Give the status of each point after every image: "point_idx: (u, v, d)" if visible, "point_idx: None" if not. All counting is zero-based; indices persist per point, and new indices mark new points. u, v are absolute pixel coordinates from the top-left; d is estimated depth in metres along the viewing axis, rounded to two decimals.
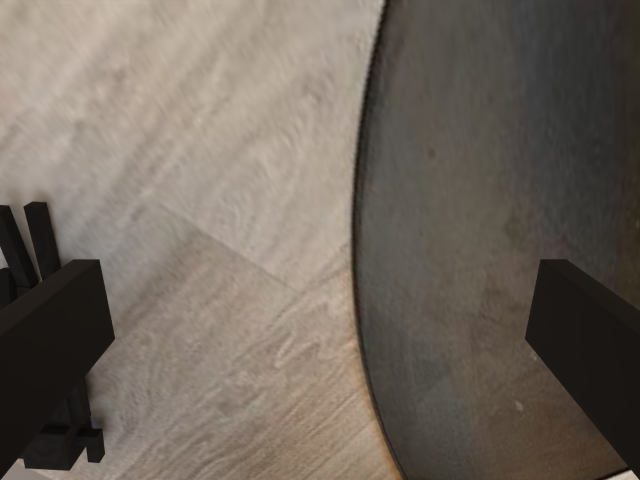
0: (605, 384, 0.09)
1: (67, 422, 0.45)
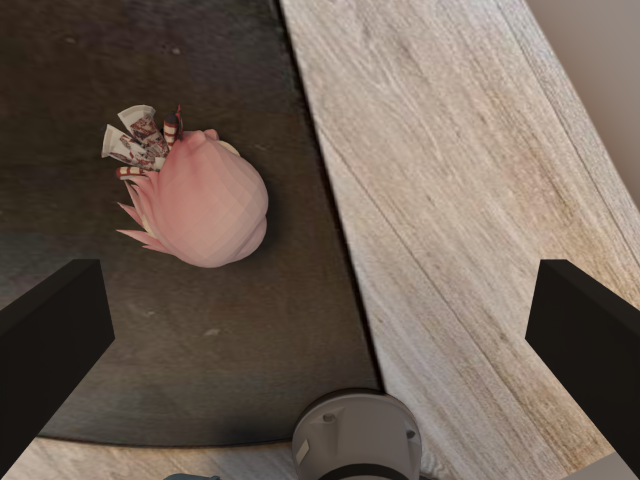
0: (605, 384, 0.09)
1: None
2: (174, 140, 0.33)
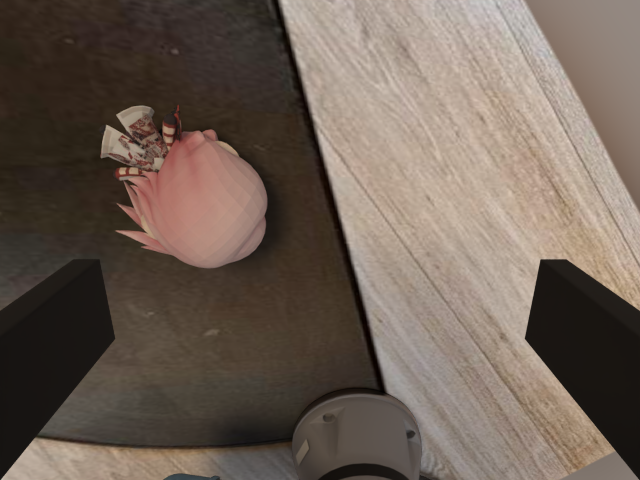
0: (605, 384, 0.09)
1: None
2: (173, 140, 0.33)
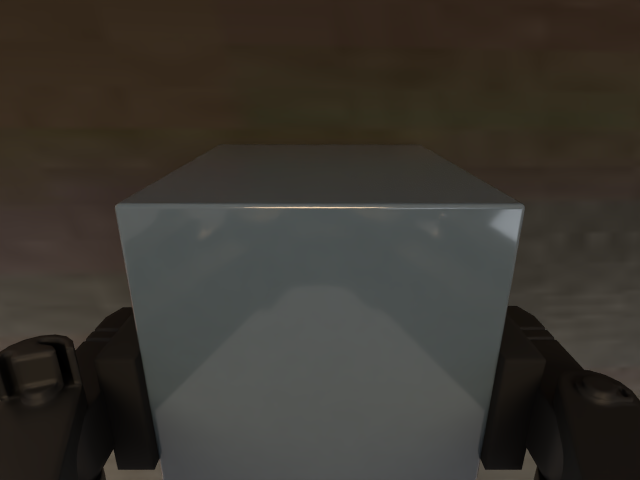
0: None
1: None
2: None
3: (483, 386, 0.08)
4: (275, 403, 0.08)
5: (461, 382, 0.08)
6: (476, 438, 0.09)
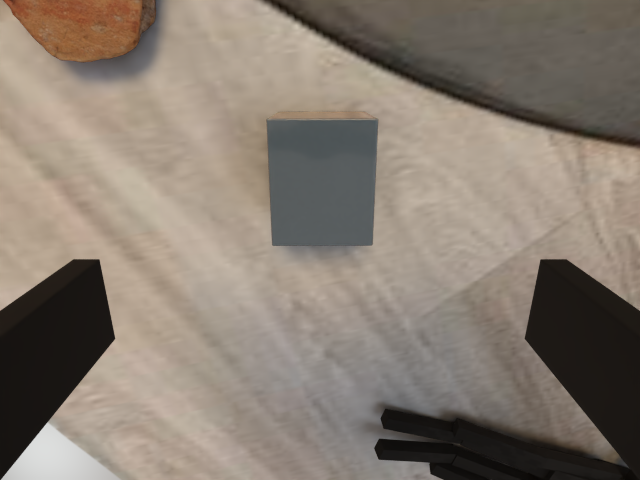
0: (605, 384, 0.09)
1: None
2: None
3: (372, 178, 0.27)
4: (308, 184, 0.27)
5: (365, 176, 0.27)
6: (371, 197, 0.27)
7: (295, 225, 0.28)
